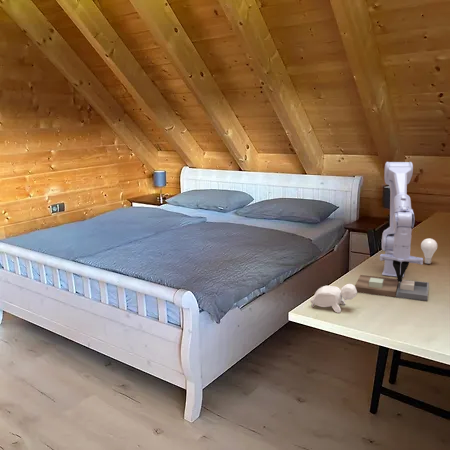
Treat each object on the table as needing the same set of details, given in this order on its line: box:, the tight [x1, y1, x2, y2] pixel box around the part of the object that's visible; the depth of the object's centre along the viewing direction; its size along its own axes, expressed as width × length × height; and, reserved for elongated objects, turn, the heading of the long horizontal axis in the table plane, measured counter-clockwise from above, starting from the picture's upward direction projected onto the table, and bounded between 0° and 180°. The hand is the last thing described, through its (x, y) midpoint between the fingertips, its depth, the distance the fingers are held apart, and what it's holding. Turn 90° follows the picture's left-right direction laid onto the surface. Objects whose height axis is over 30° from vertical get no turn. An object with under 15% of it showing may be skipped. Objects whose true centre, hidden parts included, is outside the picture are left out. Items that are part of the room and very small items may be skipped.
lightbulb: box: [420, 237, 438, 265], centre depth 199 cm, size 6×6×11 cm
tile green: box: [369, 278, 384, 288], centre depth 171 cm, size 4×4×2 cm
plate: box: [354, 274, 399, 298], centre depth 174 cm, size 14×14×2 cm
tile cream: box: [400, 279, 416, 291], centre depth 172 cm, size 4×4×2 cm
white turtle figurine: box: [309, 283, 358, 314], centre depth 157 cm, size 9×8×15 cm
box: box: [395, 279, 430, 302], centre depth 169 cm, size 14×10×2 cm
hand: (399, 280), depth 173 cm, fingers closed
